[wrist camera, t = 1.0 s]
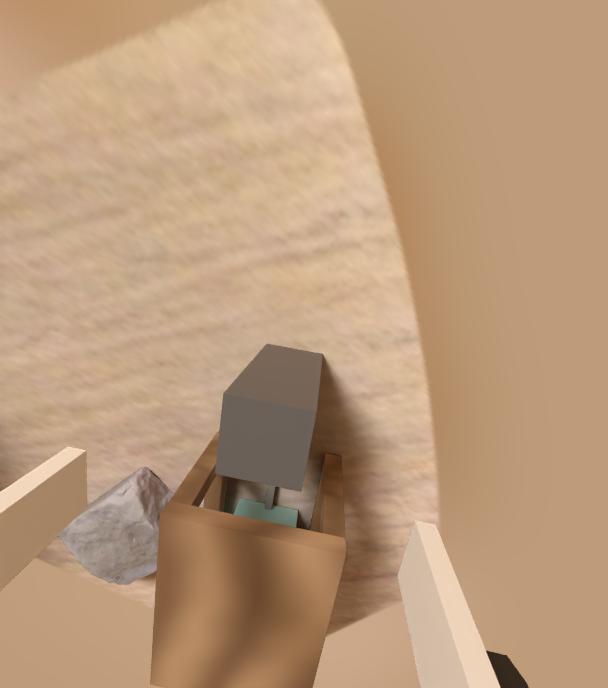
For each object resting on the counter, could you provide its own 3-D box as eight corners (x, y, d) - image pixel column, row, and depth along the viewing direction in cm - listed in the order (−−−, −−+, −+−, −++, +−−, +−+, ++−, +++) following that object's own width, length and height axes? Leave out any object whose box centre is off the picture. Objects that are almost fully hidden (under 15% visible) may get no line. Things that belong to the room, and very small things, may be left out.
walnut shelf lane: (204, 560, 33) (150, 684, 23) (217, 431, 29) (159, 514, 19) (312, 584, 33) (303, 721, 23) (341, 456, 29) (346, 554, 19)
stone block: (213, 508, 34) (141, 456, 31) (200, 553, 29) (115, 497, 26) (143, 551, 37) (72, 507, 34) (122, 598, 32) (37, 552, 29)
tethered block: (233, 544, 32) (185, 680, 22) (261, 342, 27) (214, 391, 16) (289, 556, 32) (267, 699, 21) (328, 355, 26) (326, 413, 16)
